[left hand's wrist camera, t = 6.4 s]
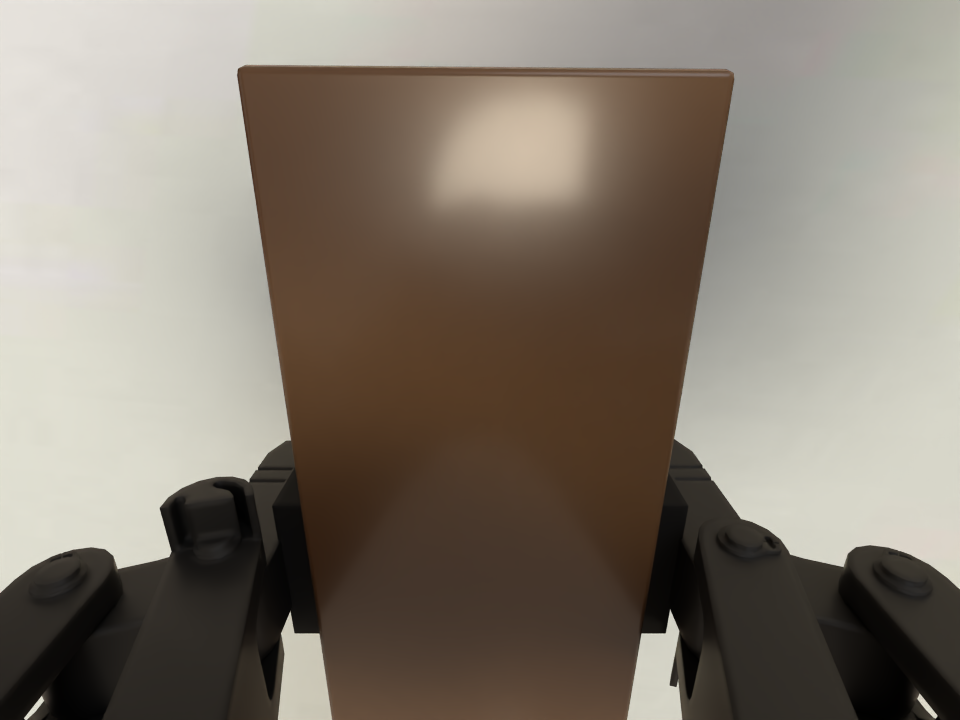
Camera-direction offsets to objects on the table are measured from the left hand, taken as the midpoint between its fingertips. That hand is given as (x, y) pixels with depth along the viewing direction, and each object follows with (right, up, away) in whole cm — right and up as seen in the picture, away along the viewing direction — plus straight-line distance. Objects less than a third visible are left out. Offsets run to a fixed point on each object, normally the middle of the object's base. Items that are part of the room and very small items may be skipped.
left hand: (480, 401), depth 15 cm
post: (0, -29, +12) cm, 32 cm away
